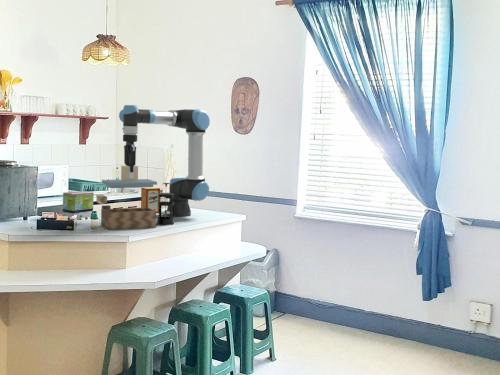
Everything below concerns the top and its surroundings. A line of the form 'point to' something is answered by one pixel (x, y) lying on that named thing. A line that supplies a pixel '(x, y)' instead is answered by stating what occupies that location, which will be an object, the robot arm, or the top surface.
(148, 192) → the baking soda box
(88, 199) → the tea box
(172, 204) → the french press
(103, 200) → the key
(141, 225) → the brown woven basket
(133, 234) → the top surface
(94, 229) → the top surface
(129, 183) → the lid
